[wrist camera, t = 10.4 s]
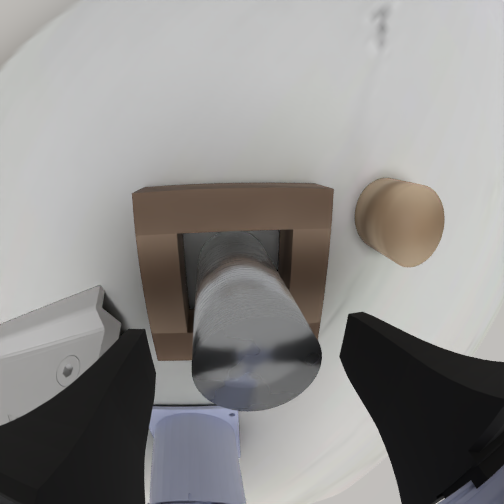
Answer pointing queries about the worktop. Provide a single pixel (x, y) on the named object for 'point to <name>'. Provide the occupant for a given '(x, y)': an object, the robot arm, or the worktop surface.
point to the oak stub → (400, 220)
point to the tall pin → (248, 329)
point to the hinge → (51, 350)
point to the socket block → (220, 220)
